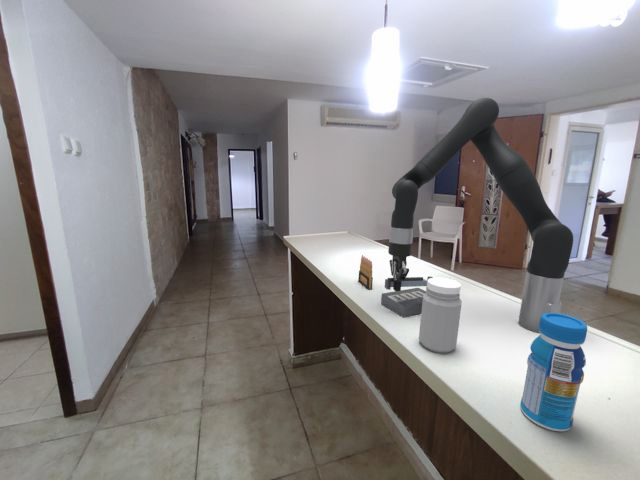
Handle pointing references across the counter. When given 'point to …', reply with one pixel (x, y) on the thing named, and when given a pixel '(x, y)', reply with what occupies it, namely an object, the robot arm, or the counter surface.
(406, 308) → the grey block
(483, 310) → the counter surface
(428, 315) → the jar
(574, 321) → the beverage bottle
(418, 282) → the bar
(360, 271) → the ammunition clip
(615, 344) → the counter surface
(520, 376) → the counter surface
